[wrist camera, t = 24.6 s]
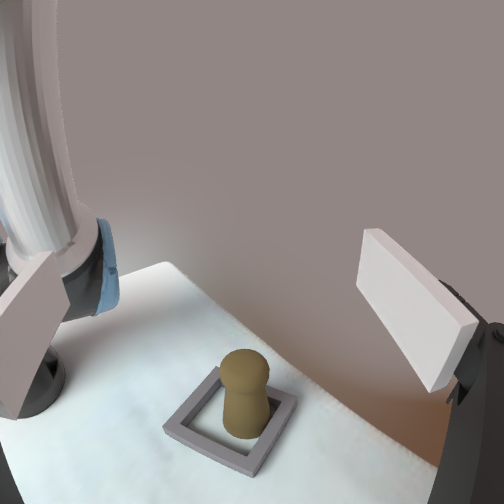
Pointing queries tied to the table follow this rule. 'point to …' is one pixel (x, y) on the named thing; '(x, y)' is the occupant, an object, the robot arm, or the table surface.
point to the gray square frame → (218, 452)
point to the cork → (245, 393)
